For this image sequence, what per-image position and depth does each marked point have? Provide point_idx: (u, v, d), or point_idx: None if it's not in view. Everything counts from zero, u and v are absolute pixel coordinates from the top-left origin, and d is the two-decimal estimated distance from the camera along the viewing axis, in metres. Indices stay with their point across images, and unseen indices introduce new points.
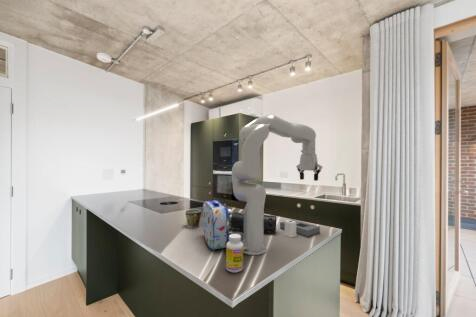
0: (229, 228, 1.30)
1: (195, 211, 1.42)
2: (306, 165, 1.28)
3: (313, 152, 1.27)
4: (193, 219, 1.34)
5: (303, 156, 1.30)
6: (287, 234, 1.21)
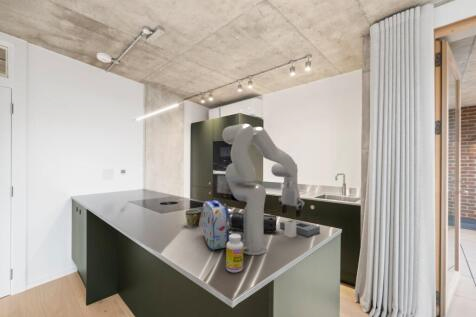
0: (229, 228, 1.31)
1: (195, 211, 1.42)
2: (288, 199, 1.21)
3: (295, 186, 1.19)
4: (193, 219, 1.34)
5: (285, 190, 1.22)
6: (287, 234, 1.21)
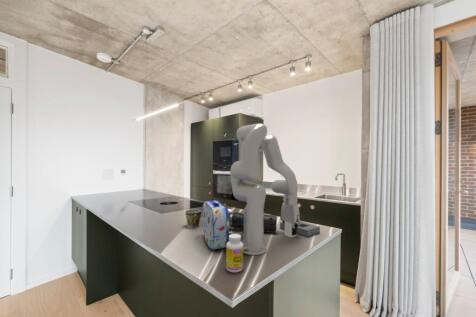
0: (230, 228, 1.31)
1: (195, 211, 1.42)
2: (287, 216, 1.20)
3: (294, 203, 1.19)
4: (193, 219, 1.34)
5: (284, 206, 1.22)
6: (287, 234, 1.21)
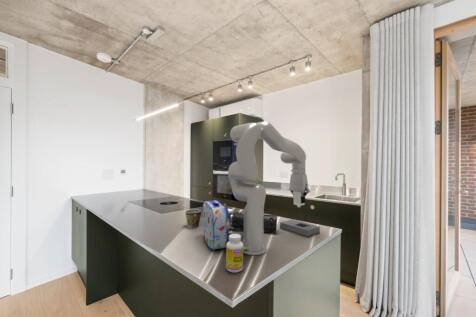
0: (230, 228, 1.31)
1: (195, 211, 1.42)
2: (296, 186, 1.25)
3: (303, 173, 1.24)
4: (193, 219, 1.34)
5: (293, 177, 1.27)
6: (296, 203, 1.26)
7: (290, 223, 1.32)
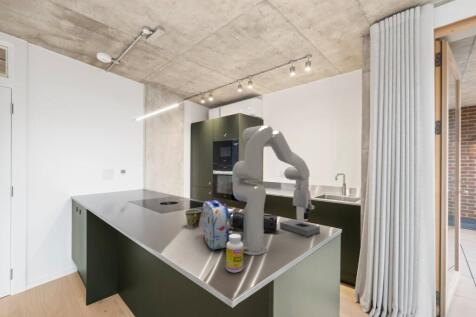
0: (230, 228, 1.31)
1: (195, 211, 1.42)
2: (299, 202, 1.27)
3: (306, 189, 1.26)
4: (193, 219, 1.34)
5: (296, 192, 1.29)
6: (299, 218, 1.28)
7: (290, 223, 1.32)
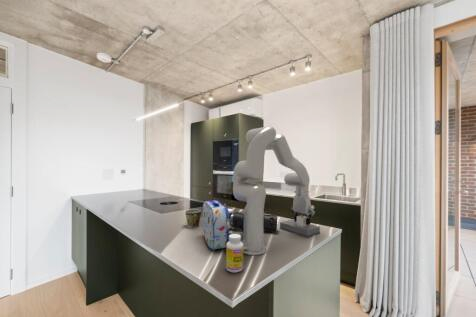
0: (230, 228, 1.31)
1: (195, 211, 1.42)
2: (299, 208, 1.27)
3: (306, 195, 1.26)
4: (193, 219, 1.34)
5: (296, 198, 1.29)
6: None
7: (290, 223, 1.32)
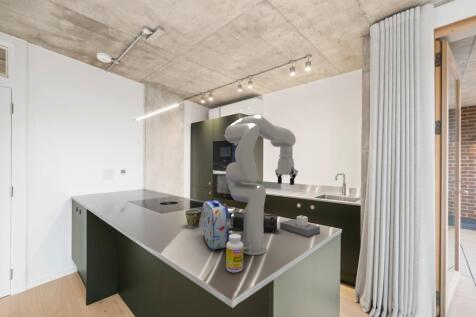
0: (231, 227, 1.31)
1: (195, 211, 1.42)
2: (283, 169, 1.29)
3: (290, 156, 1.28)
4: (193, 219, 1.34)
5: (280, 161, 1.31)
6: None
7: (290, 223, 1.32)
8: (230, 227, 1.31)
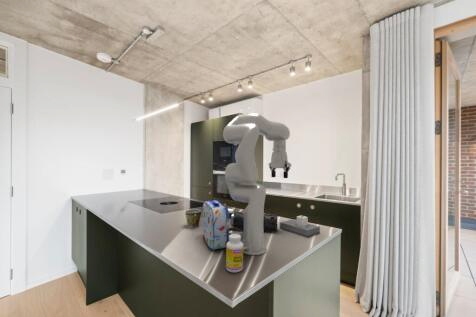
0: (231, 227, 1.32)
1: (195, 211, 1.42)
2: (276, 163, 1.30)
3: (283, 150, 1.29)
4: (193, 219, 1.34)
5: (274, 154, 1.31)
6: None
7: (290, 223, 1.32)
8: (230, 227, 1.31)
